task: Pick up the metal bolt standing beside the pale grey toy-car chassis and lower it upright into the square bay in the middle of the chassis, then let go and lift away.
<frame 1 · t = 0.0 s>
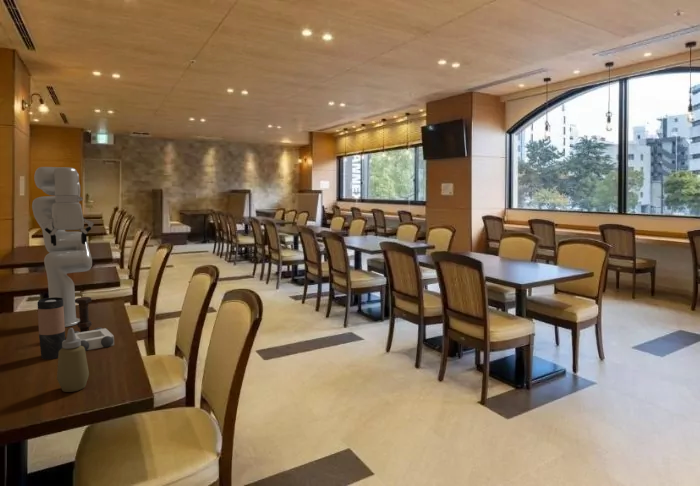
hand: (69, 244, 180), 37 cm above the table, tool pointing down, fingers open, 9 cm apart
bolt: (85, 335, 187), on the table
chassis: (91, 344, 176), on the table
squeeze bottle: (73, 389, 136), on the table
travel mug: (53, 356, 163), on the table
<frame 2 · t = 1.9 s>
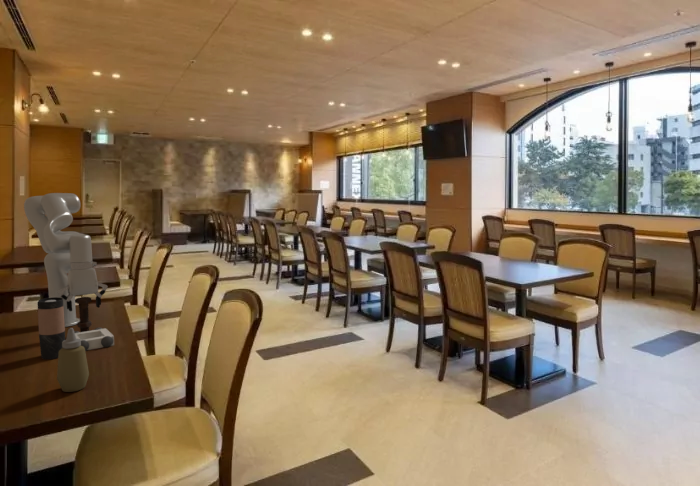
hand: (84, 308, 185), 11 cm above the table, tool pointing down, fingers open, 9 cm apart
nothing on the table moved.
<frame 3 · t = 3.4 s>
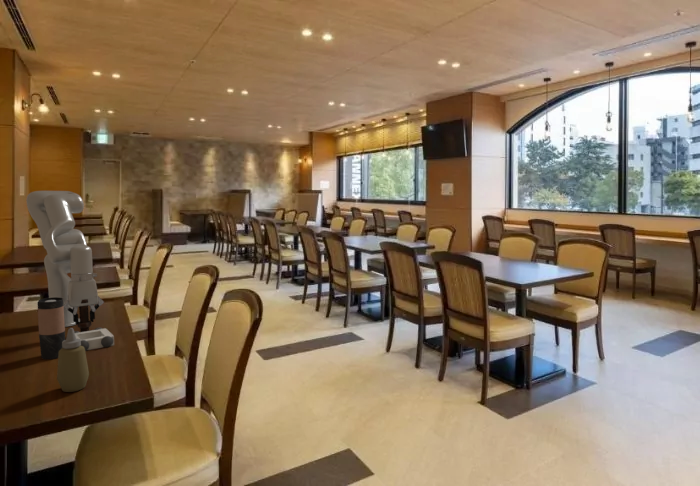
hand: (84, 321, 186), 5 cm above the table, tool pointing down, fingers closed on bolt, 4 cm apart
bolt: (85, 335, 187), on the table, touching gripper
everything else where it was.
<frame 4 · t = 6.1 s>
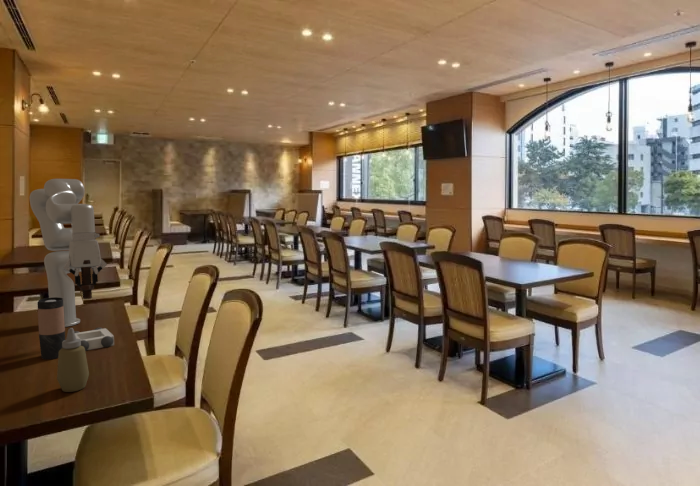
hand: (86, 284, 177), 22 cm above the table, tool pointing down, fingers closed on bolt, 4 cm apart
bolt: (87, 299, 178), point 16 cm above the table, touching gripper
everything else where it was.
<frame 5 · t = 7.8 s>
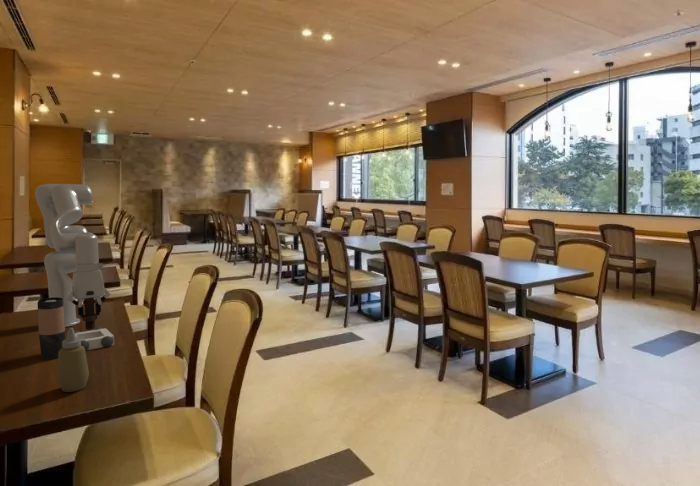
hand: (89, 315, 175), 11 cm above the table, tool pointing down, fingers closed on bolt, 4 cm apart
bolt: (90, 329, 175), point 6 cm above the table, touching gripper
everything else where it was.
when the fingers open (7 cm above the table, at t = 9.1 s): bolt drops 1 cm, resting in chassis.
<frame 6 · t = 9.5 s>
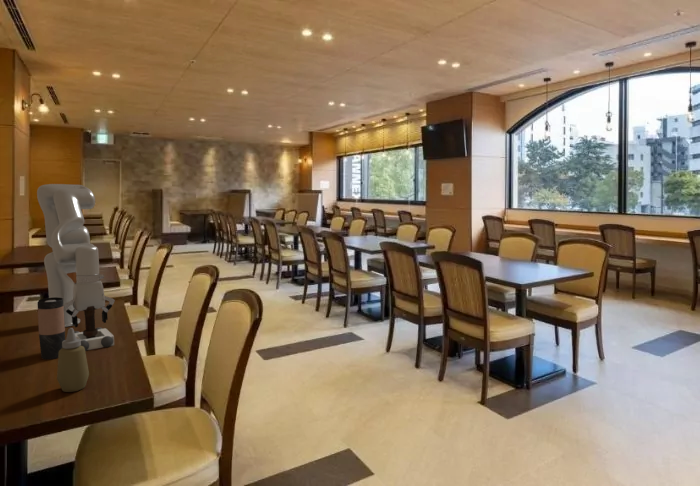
hand: (90, 324, 175), 8 cm above the table, tool pointing down, fingers open, 9 cm apart
bolt: (91, 344, 176), resting in chassis
everything else where it was.
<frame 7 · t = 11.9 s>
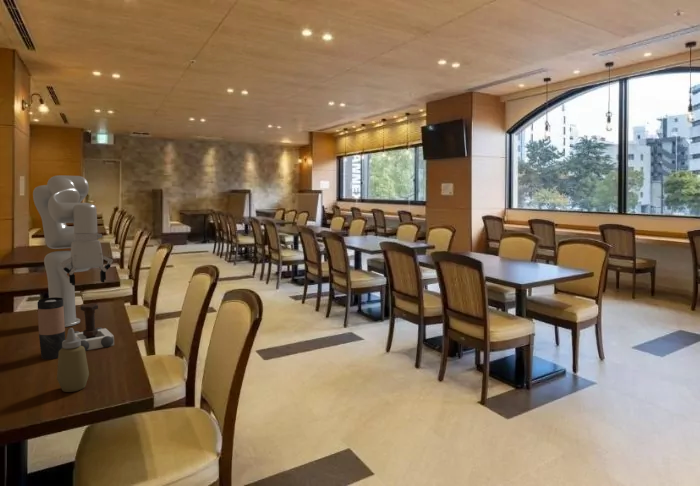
hand: (88, 283, 173), 23 cm above the table, tool pointing down, fingers open, 9 cm apart
nothing on the table moved.
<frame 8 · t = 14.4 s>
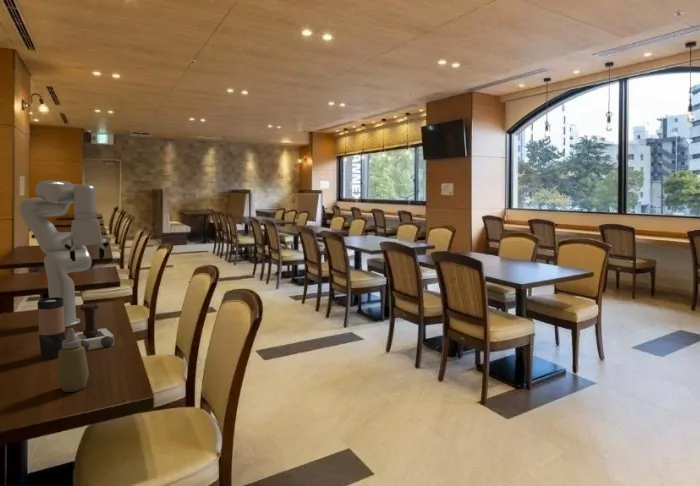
hand: (87, 260, 184), 30 cm above the table, tool pointing down, fingers open, 9 cm apart
nothing on the table moved.
at the end: bolt 0.2 cm off-centre on the chassis, point 0.0 cm above the chassis's base; bolt tilted 0°; the gripper is holding nothing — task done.
